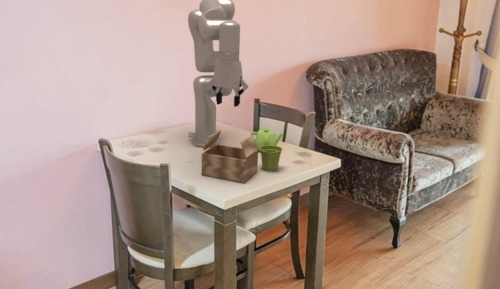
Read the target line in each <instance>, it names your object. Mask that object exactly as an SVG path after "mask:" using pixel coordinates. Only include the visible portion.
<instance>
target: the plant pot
mask: <svg viewBox="0 0 500 289" xmlns="http://www.w3.org/2000/svg"><path fill="white" fill-rule="evenodd" d="M259 149H260V152H259V153H260V156H261V167H262V169H263V170H265V171H266V172H267V171H268V172H274V171H276V170H278V168H279V164H280V163H279V162H280V158H281V154H282V152H283V147H282V146H278V145H276V146H275V145H264V146H260V147H259Z"/></svg>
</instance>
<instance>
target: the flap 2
mask: <svg viewBox="0 0 500 289" xmlns="http://www.w3.org/2000/svg"><path fill="white" fill-rule="evenodd" d="M254 139H255V138H254V136H253V135H251V134H250V136H248V137H246V138H245V139H243V141H241V142H240V146H241V148H242V149H243V152H244V154H245V157H246V158H247V157H248V156H250V155H251V154H252V153H253V152H255V151H258V149H257V146H256V143H255V140H254Z"/></svg>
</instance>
